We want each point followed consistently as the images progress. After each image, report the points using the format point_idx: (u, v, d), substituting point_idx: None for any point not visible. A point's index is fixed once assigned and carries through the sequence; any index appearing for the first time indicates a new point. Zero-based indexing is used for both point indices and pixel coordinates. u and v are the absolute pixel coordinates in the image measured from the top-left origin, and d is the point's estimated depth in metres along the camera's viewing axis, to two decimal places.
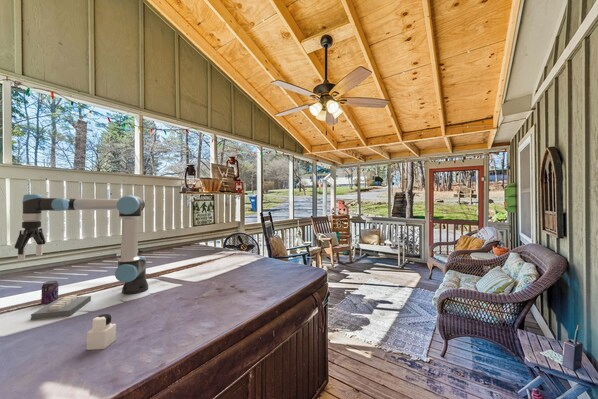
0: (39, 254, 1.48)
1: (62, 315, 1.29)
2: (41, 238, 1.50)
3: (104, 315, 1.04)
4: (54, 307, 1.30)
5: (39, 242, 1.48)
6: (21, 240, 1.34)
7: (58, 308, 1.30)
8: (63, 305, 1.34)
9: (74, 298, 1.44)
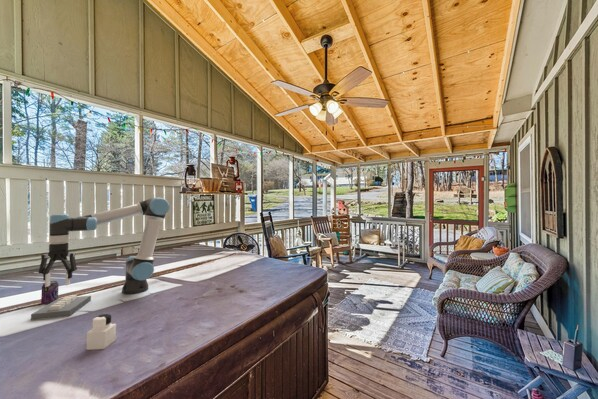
0: None
1: (62, 315, 1.29)
2: None
3: (104, 315, 1.04)
4: (54, 307, 1.30)
5: None
6: None
7: (58, 308, 1.30)
8: (63, 305, 1.34)
9: (74, 298, 1.44)
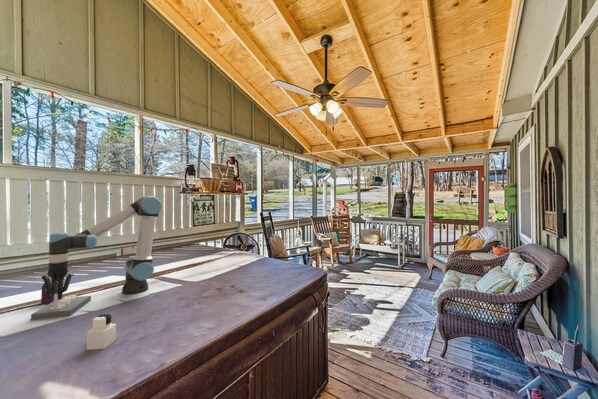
0: None
1: (62, 315, 1.29)
2: (64, 285, 1.33)
3: (104, 315, 1.04)
4: (54, 309, 1.30)
5: None
6: None
7: None
8: None
9: (74, 298, 1.44)
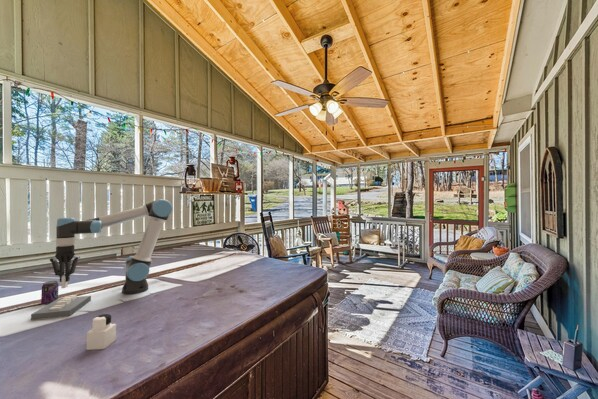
0: None
1: (62, 315, 1.29)
2: None
3: (104, 315, 1.04)
4: (54, 309, 1.30)
5: None
6: None
7: None
8: None
9: (74, 298, 1.44)
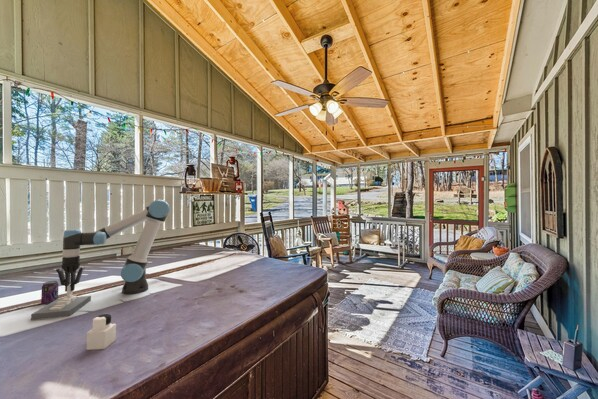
0: None
1: (62, 315, 1.29)
2: None
3: (104, 315, 1.04)
4: (54, 309, 1.30)
5: None
6: None
7: None
8: None
9: (74, 299, 1.44)
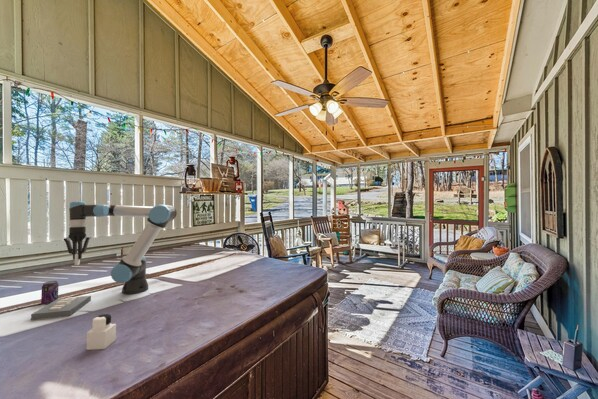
0: None
1: (62, 315, 1.29)
2: None
3: (104, 315, 1.04)
4: (54, 309, 1.30)
5: None
6: None
7: None
8: None
9: None
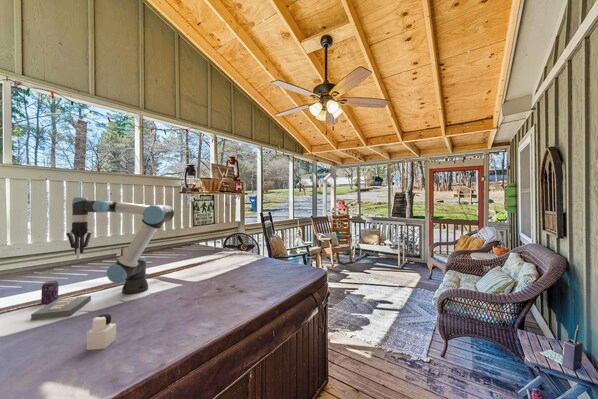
0: None
1: (62, 315, 1.29)
2: (85, 241, 1.56)
3: (104, 315, 1.04)
4: (54, 309, 1.30)
5: None
6: None
7: None
8: None
9: None
